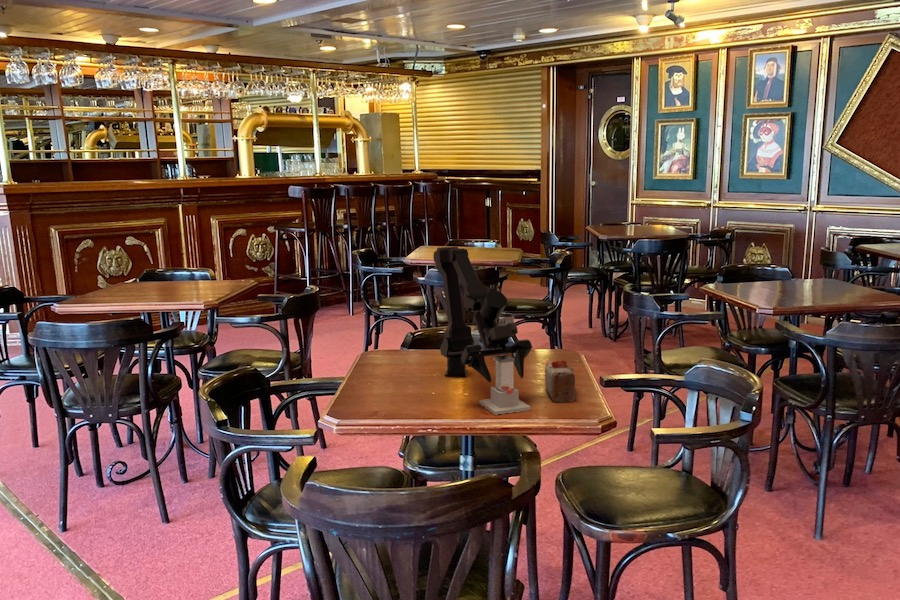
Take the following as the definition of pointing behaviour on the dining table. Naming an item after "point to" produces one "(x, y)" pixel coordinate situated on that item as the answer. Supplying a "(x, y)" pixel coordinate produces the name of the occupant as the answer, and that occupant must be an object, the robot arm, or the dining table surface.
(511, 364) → the column
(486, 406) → the stand base
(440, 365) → the dining table surface
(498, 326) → the robot arm
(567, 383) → the food item
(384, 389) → the dining table surface
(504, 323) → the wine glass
